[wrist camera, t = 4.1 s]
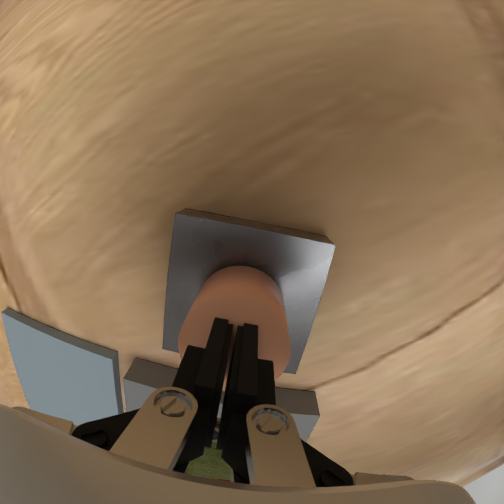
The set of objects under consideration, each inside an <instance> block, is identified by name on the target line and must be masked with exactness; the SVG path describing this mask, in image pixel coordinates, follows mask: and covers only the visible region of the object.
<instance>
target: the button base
mask: <svg viewBox="0 0 504 504" xmlns="http://www.w3.org/2000/svg"><path fill="white" fill-rule="evenodd" d="M334 249H335V244H334V243H333V242H332V241H331V240H330V239H329V238H328V237H326V236H322V235H317V234H312V233H308V232H303V231H298V230H293V229H289V228H284V227H279V226H274V225H269V224H264V223H259V222H254V221H249V220H244V219H239V218H234V217H229V216H223V215H218V214H213V213H207V212H202V211H196V210H191V209H184V210H182V211H179V212H177V213H175V220H174V227H173V235H172V243H171V251H170V260H169V269H168V279H167V290H166V301H165V314H164V329H163V346H162V349H165V350H169V351H173V352H177V353H179V349H178V337H179V333H180V330H181V327H182V325H183V323H184V321H185V319H186V317H187V315H188V313H189V311H190V309H191V307H192V305H193V303H194V301H195V299H196V297H197V295H198V293H199V291H200V289H201V287H202V285H203V284H204V282H205V281H206V280H207V279H208V278H209V277H210V276H211V275H212V274H214V273H215V272H217V271H219V270H221V269H224V268H227V267H231V266H247V267H252V268H255V269H258V270H260V271H262V272H264V273H265V274H267V275H268V276H269V277H271V278H272V279H273V280H274V281H275V283H276V284H277V285H278V287H279V289H280V291H281V293H282V296H283V300H284V306H285V312H286V319H287V325H288V331H289V337H290V345H291V354H290V359H289V362H288V364H287V367H286V368H285V370H284V371H283V372H284V373H291V374H296V371H297V369H298V366H299V363H300V360H301V357H302V354H303V351H304V348H305V346H306V343H307V340H308V337H309V334H310V330H311V327H312V324H313V321H314V318H315V315H316V312H317V308H318V305H319V302H320V299H321V295H322V292H323V289H324V285H325V282H326V278H327V275H328V271H329V268H330V264H331V260H332V257H333V253H334Z"/></svg>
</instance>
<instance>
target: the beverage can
mask: <svg viewBox="0 0 504 504" xmlns="http://www.w3.org/2000/svg"><path fill="white" fill-rule="evenodd" d="M218 432H219V427H217V426H215V430H214V435H213V440H212V445H211V448H208V447H205V448H204V453H203V456H200V457H198V458H196V459H194V460H192V461H191V465H190V468H189V470H188V472H187V474H189V475H193V476H198V477H203V478H209V479H215V480H221V481H228V482H231V479H230V468H231V467H230V466H229V465H228V464H227V463H226V462H225V461H224V460H223V459H222V458H221V453H222V450H218V449H216V445H217V439H218Z"/></svg>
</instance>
